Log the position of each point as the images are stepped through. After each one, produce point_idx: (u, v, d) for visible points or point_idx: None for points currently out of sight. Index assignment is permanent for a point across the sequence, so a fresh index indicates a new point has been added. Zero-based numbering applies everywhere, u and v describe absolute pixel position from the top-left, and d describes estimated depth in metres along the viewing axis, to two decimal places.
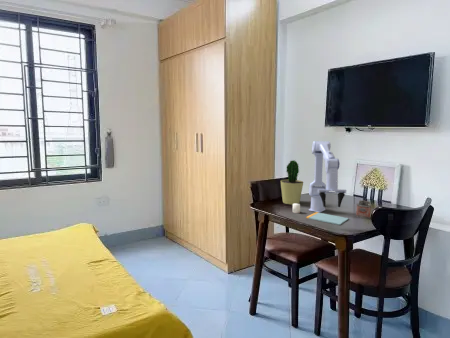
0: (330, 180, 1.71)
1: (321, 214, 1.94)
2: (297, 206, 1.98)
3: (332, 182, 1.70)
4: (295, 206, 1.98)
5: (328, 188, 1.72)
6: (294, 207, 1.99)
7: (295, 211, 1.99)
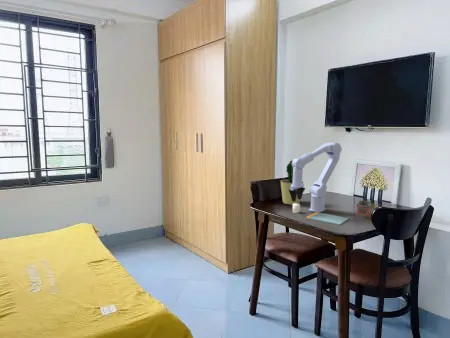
0: None
1: (321, 214, 1.94)
2: (297, 206, 1.98)
3: None
4: (295, 206, 1.98)
5: None
6: (294, 207, 1.99)
7: (295, 211, 1.99)
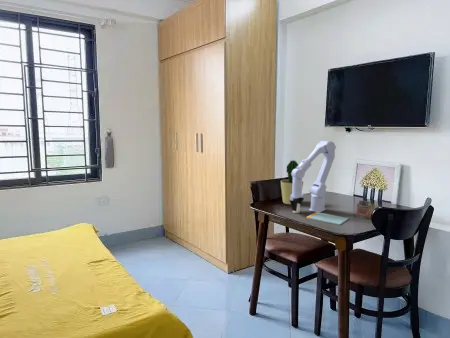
0: (292, 187, 1.99)
1: (321, 214, 1.94)
2: (297, 206, 1.98)
3: None
4: None
5: None
6: None
7: (295, 211, 1.99)
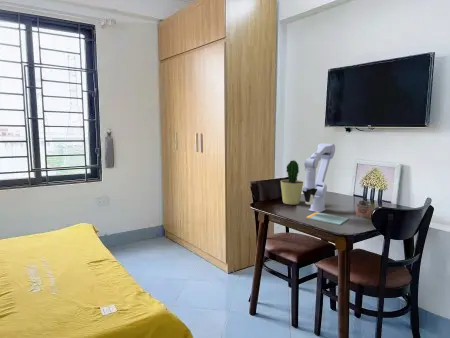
0: (306, 178, 1.91)
1: (321, 214, 1.94)
2: (310, 197, 1.92)
3: None
4: None
5: None
6: None
7: (308, 202, 1.92)
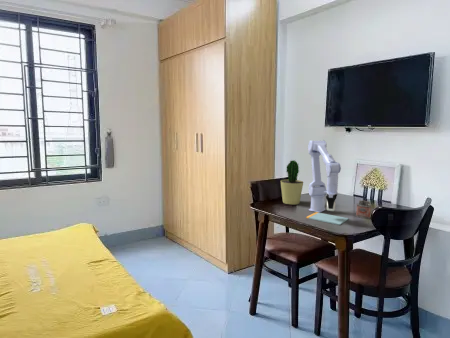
0: (331, 184, 1.81)
1: (321, 214, 1.94)
2: None
3: None
4: None
5: None
6: None
7: (331, 209, 1.83)
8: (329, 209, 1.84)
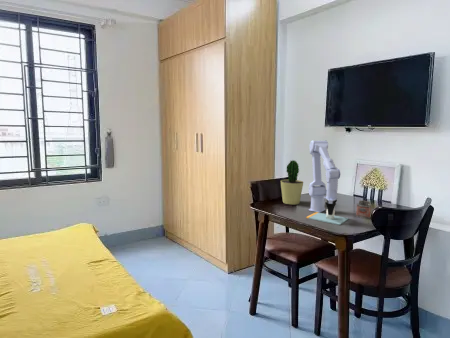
0: (331, 190, 1.81)
1: (321, 214, 1.94)
2: (333, 212, 1.84)
3: None
4: None
5: None
6: None
7: (331, 217, 1.84)
8: (329, 217, 1.84)
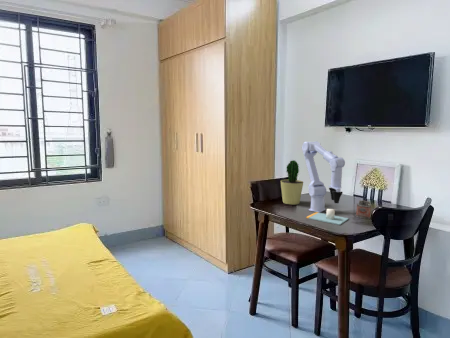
0: (337, 178, 1.85)
1: (321, 214, 1.94)
2: (333, 212, 1.84)
3: (331, 179, 1.88)
4: (331, 212, 1.84)
5: None
6: (330, 213, 1.84)
7: (331, 217, 1.84)
8: (328, 217, 1.84)
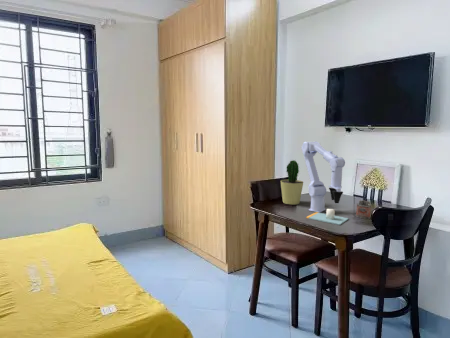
0: (337, 178, 1.85)
1: (321, 214, 1.94)
2: (333, 212, 1.84)
3: (331, 179, 1.88)
4: (331, 212, 1.84)
5: None
6: (329, 213, 1.84)
7: (331, 217, 1.84)
8: (328, 217, 1.84)
